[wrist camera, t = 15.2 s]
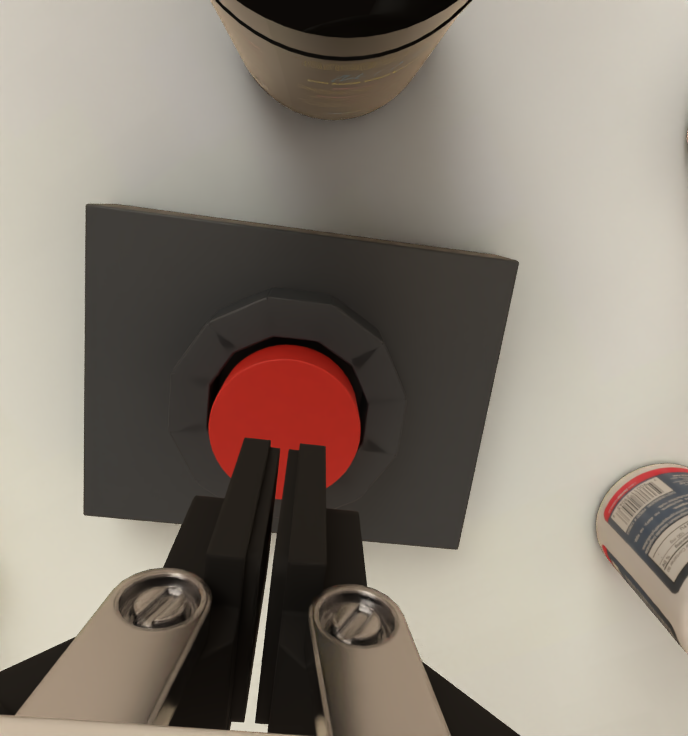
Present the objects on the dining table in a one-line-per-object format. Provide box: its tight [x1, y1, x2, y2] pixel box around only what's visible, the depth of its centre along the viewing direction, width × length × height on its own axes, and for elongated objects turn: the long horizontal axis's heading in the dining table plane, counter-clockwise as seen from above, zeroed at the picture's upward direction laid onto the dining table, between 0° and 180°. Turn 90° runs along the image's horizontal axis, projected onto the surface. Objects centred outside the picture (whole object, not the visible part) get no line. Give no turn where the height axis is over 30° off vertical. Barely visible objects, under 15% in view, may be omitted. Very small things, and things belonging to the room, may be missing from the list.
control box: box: [84, 204, 519, 550], centre depth 20 cm, size 11×14×4 cm
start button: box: [209, 344, 361, 499], centre depth 17 cm, size 4×4×2 cm
